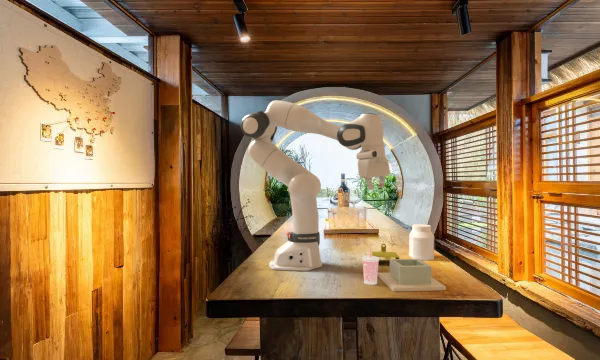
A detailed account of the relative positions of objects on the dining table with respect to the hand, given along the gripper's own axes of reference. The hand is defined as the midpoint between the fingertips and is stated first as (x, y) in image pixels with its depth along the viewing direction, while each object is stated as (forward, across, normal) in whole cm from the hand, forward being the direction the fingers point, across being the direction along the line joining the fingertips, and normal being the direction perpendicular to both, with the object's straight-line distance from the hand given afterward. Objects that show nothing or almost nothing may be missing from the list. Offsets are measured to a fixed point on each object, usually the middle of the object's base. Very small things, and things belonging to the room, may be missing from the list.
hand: (376, 188), depth 144 cm
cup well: (+34, +7, +14) cm, 37 cm away
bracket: (+34, -13, -5) cm, 37 cm away
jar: (+35, -33, +3) cm, 49 cm away
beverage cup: (+33, +16, +3) cm, 37 cm away
